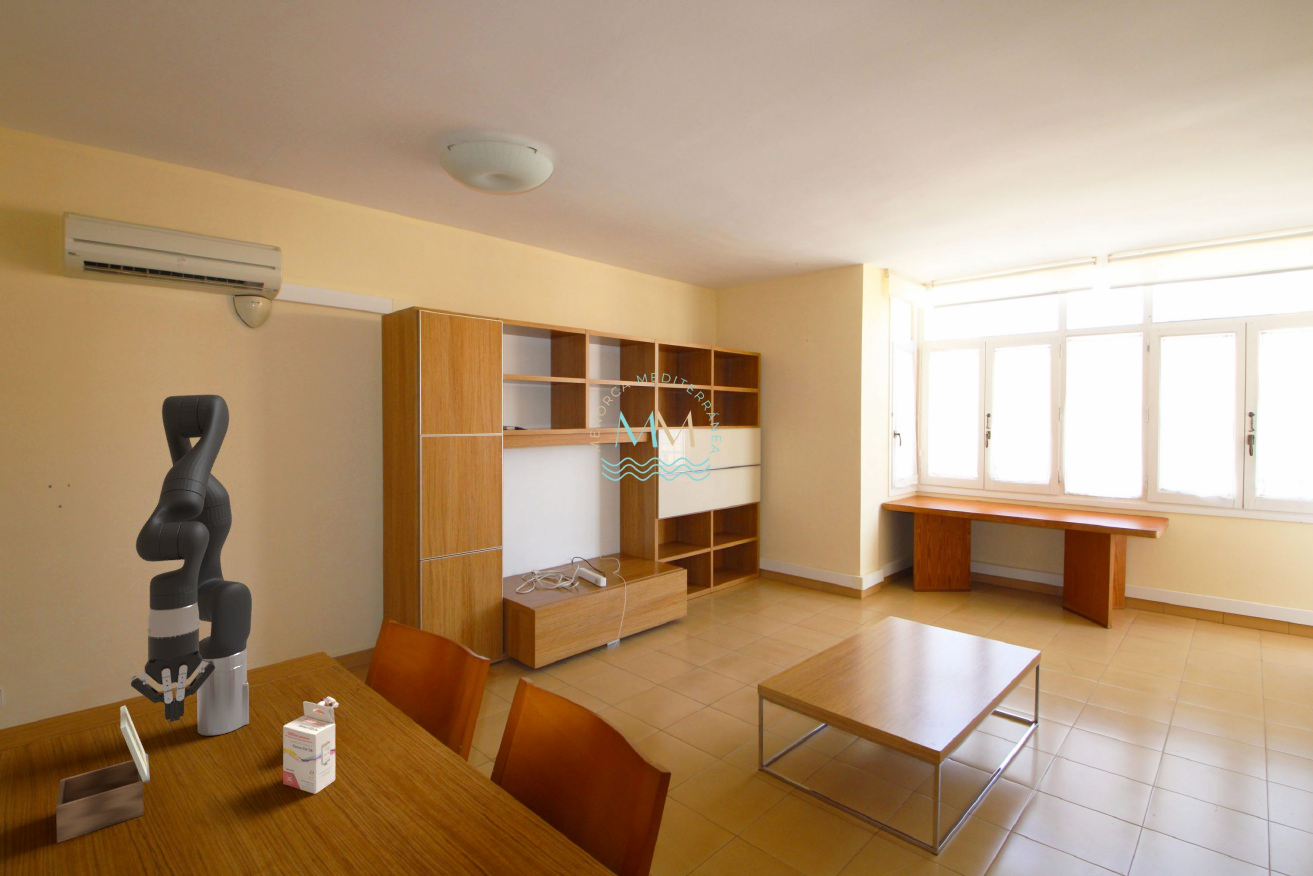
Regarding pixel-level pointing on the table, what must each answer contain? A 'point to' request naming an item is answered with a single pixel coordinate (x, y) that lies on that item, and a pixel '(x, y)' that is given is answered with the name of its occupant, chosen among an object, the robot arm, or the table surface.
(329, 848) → the table surface
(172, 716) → the robot arm
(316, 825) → the table surface
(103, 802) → the box
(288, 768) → the ink cartridge box
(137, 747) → the lid
